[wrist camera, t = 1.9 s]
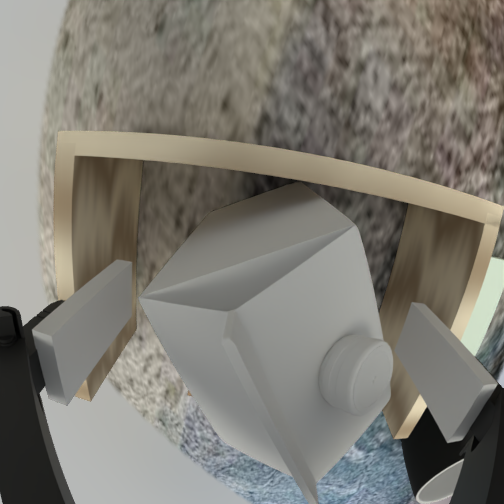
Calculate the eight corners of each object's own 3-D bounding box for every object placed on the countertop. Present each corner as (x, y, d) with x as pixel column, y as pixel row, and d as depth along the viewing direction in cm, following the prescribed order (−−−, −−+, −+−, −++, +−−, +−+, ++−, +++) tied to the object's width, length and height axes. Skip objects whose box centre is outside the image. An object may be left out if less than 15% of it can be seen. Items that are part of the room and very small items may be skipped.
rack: (132, 135, 22) (58, 130, 13) (425, 184, 23) (503, 206, 13) (124, 326, 27) (75, 396, 18) (373, 361, 28) (407, 438, 18)
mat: (417, 239, 24) (420, 241, 24) (508, 259, 24) (511, 262, 24) (376, 361, 28) (378, 365, 27) (467, 362, 28) (470, 365, 27)
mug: (443, 434, 32) (470, 489, 22) (383, 448, 32) (404, 511, 22) (474, 364, 28) (518, 421, 18) (408, 377, 28) (446, 447, 19)
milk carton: (242, 294, 26) (211, 522, 8) (209, 211, 24) (77, 373, 6) (327, 266, 25) (426, 474, 7) (299, 179, 23) (421, 273, 5)
